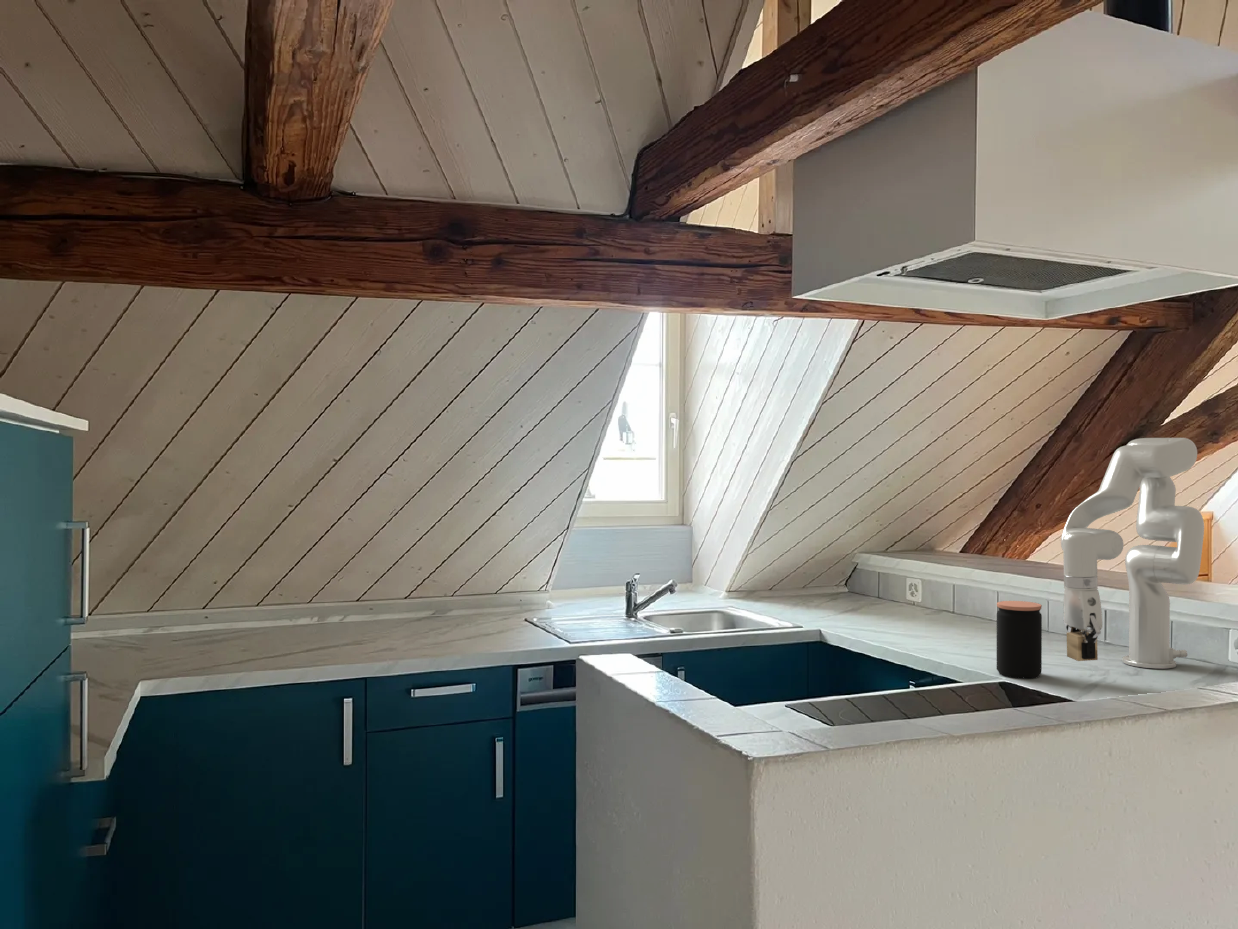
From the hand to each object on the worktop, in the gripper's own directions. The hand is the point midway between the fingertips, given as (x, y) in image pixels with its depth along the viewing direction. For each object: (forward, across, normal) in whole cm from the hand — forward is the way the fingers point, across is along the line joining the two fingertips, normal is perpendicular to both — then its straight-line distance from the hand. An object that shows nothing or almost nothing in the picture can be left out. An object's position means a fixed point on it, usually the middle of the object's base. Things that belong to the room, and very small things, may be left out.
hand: (1082, 655), depth 246 cm
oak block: (+1, 0, 0) cm, 1 cm away
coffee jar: (+6, +8, +12) cm, 16 cm away
